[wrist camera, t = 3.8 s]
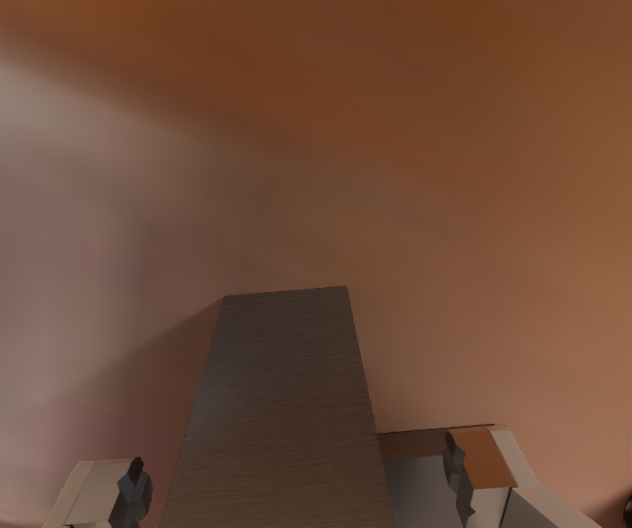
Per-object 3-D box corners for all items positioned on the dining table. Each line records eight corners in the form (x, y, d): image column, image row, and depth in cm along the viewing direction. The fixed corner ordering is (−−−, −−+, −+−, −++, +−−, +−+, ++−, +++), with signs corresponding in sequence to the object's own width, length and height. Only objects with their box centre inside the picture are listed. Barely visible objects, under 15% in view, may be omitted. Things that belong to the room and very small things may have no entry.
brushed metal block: (225, 295, 13) (114, 685, 5) (346, 285, 13) (422, 660, 5) (248, 401, 15) (198, 776, 7) (350, 393, 15) (406, 758, 8)
